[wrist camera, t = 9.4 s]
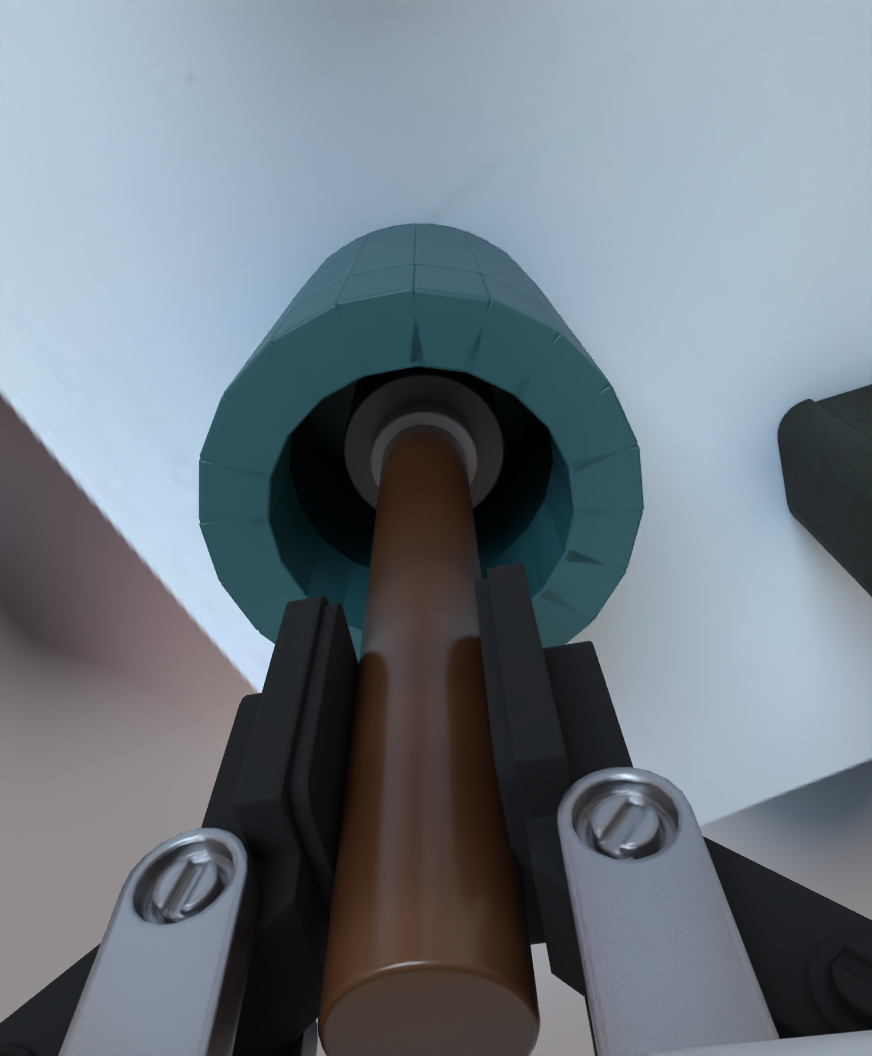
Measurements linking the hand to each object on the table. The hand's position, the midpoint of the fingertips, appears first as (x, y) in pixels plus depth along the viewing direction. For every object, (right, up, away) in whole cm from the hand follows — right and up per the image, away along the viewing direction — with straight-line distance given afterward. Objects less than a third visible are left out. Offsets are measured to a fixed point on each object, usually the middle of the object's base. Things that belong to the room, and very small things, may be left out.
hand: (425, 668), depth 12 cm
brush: (0, +6, +12) cm, 14 cm away
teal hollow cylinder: (0, +8, +16) cm, 18 cm away
